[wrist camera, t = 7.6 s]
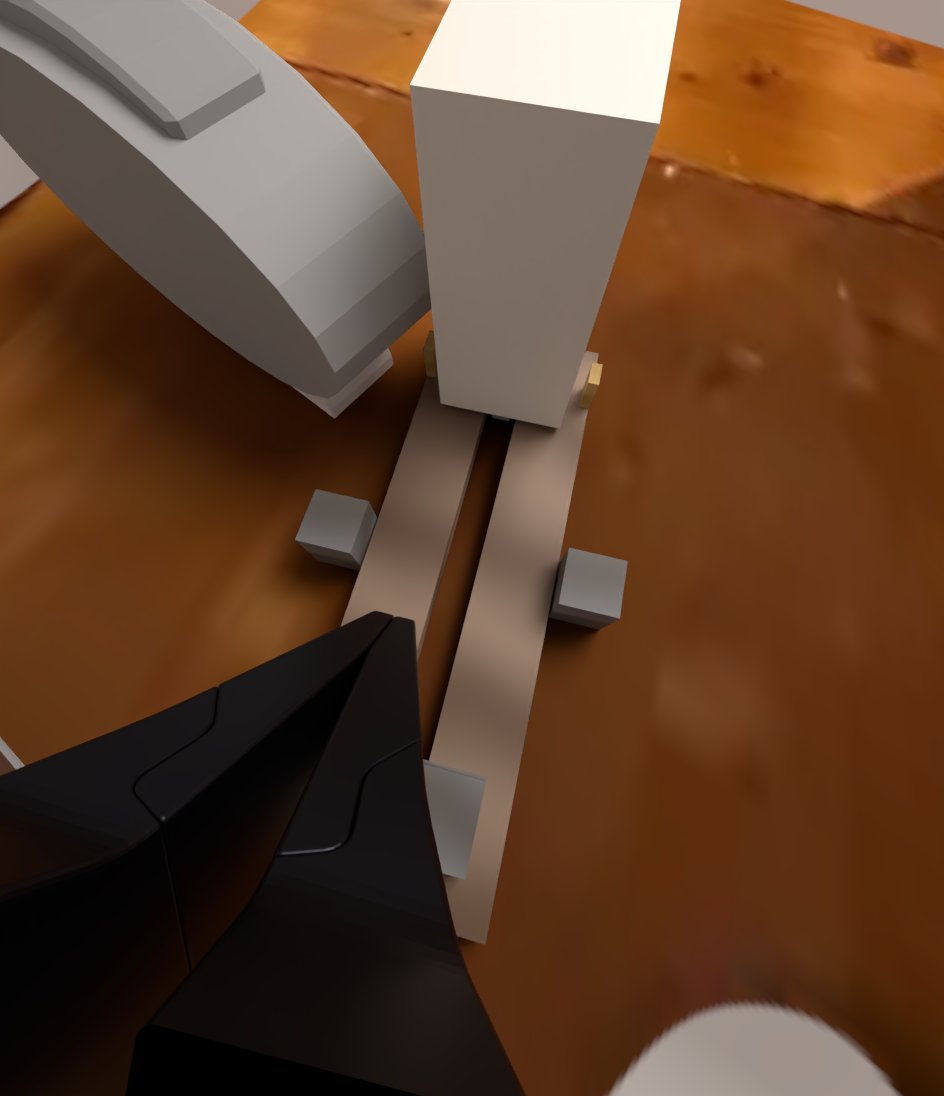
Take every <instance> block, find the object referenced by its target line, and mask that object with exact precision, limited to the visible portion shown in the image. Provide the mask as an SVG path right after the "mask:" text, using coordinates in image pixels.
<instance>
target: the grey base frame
mask: <svg viewBox="0 0 944 1096" xmlns="http://www.w3.org/2000/svg"><path fill="white" fill-rule="evenodd" d="M423 352H424V360H425V368H426V375H427V378H426V381H425V384H424V387H423V390H422V393H421V396H420V399H419V402H418V404H417V407H416V410H415V413H414V416H413V419H412V422H411V425H410V428H409V430H408V433H407V436H406V439H405V442H404V445H403V448H402V451H401V454H400V456H399V459H398V462H397V465H396V468H395V471H394V474H393V477H392V479H391V482H390V485H389V488H388V491H387V494H386V497H385V500H384V503H383V505H382V508H381V511H380V514H379V517H378V518H377V516H376V514H375V512H374V510H373V508H372V506H371V504H370V502H369V501H365V500H361V499H357V498H352V497H348V496H344V495H339V494H335V493H331V492H326V491H322V490H318V489H315V492H314V494H313V497H312V499H311V501H310V504H309V506H308V509H307V511H306V514H305V516H304V519H303V521H302V524H301V526H300V528H299V531H298V533H297V536H296V538H295V541H296V542H298V543H299V544H300V545H301V546H302V547H303V548H304V549H305V550H306V551H307V552H308V553H309V554H310V555H311V556H313V557H314V558H315V559H316V560H317V561H320V562H324V563H328V564H333V565H337V566H341V567H345V568H349V569H353V570H357V571H360V572H359V575H358V578H357V581H356V583H355V586H354V589H353V592H352V595H351V598H350V601H349V604H348V607H347V609H346V612H345V615H344V618H343V621H342V624H341V626H343V625H345V624H347V623H349V622H351V621H353V620H355V619H358V618H360V617H362V616H364V615H366V614H368V613H370V612H372V611H380V612H384V613H388V614H391V615H393V616H394V617H396V616H399V617H403V618H407V619H411V620H414V621H415V628H416V645H417V663H418V660H419V656H420V653H421V649H422V645H423V642H424V638H425V635H426V631H427V628H428V624H429V621H430V617H431V613H432V610H433V606H434V603H435V599H436V596H437V592H438V588H439V585H440V581H441V578H442V574H443V571H444V567H445V564H446V560H447V556H448V553H449V549H450V546H451V542H452V539H453V535H454V531H455V528H456V524H457V521H458V517H459V514H460V510H461V507H462V503H463V499H464V496H465V492H466V489H467V485H468V482H469V478H470V474H471V471H472V467H473V464H474V460H475V457H476V453H477V450H478V446H479V442H480V439H481V435H482V432H483V428H484V425H485V421H486V417H487V414H488V413H483V412H478V411H474V410H469V409H464V408H459V407H455V406H450V405H445V404H441V401H440V391H439V381H438V370H437V360H436V350H435V339H434V331H431V330H430V331H429V334H428V337H427V340H426V342H425V345H424V348H423ZM597 359H598V353H593V352H588V351H585V353H584V356H583V359H582V362H581V365H580V368H579V371H578V374H577V377H576V380H575V383H574V386H573V389H572V392H571V396H570V399H569V402H568V405H567V408H566V411H565V414H564V417H563V420H562V423H561V426H560V429H559V428H554V427H549V426H545V425H540V424H535V423H530V422H526V421H521V420H516V421H515V424H514V428H513V432H512V436H511V440H510V444H509V448H508V452H507V456H506V460H505V464H504V468H503V472H502V476H501V480H500V483H499V487H498V491H497V495H496V499H495V503H494V507H493V511H492V515H491V519H490V523H489V527H488V531H487V535H486V539H485V542H484V546H483V550H482V554H481V558H480V562H479V566H478V570H477V574H476V578H475V582H474V586H473V590H472V594H471V598H470V601H469V605H468V609H467V613H466V617H465V621H464V625H463V629H462V633H461V637H460V641H459V645H458V649H457V653H456V657H455V660H454V664H453V668H452V672H451V676H450V680H449V684H448V688H447V692H446V696H445V700H444V704H443V708H442V712H441V716H440V719H439V723H438V727H437V731H436V735H435V739H434V743H433V747H432V751H431V755H430V759H429V761H428V760H424V759H423V764H424V774H425V784H426V793H427V798H428V804H429V810H430V816H431V822H432V827H433V831H434V836H435V841H436V845H437V850H438V854H439V859H440V864H441V868H442V873H443V878H444V882H445V887H446V892H447V896H448V901H449V906H450V910H451V914H452V919H453V923H454V927H455V931H456V934H457V936H458V937H462V938H465V939H468V940H471V941H475V942H478V943H481V944H485V943H486V938H487V933H488V928H489V923H490V917H491V912H492V907H493V902H494V897H495V891H496V886H497V881H498V876H499V870H500V865H501V860H502V855H503V850H504V844H505V839H506V834H507V829H508V824H509V818H510V813H511V808H512V803H513V797H514V792H515V787H516V782H517V777H518V771H519V766H520V761H521V756H522V751H523V745H524V740H525V735H526V730H527V724H528V719H529V714H530V709H531V704H532V698H533V693H534V688H535V683H536V677H537V672H538V667H539V662H540V657H541V651H542V646H543V641H544V636H545V631H546V625H547V620H548V617H549V618H553V619H557V620H562V621H566V622H570V623H574V624H578V625H582V626H586V627H590V628H594V629H598V630H600V629H602V628H604V627H605V626H607V625H609V624H611V623H612V622H614V621H616V620H618V619H620V612H621V605H622V597H623V590H624V583H625V576H626V568H627V561H624V560H620V559H616V558H611V557H607V556H603V555H598V554H594V553H590V552H585V551H581V550H577V549H572V548H569V549H568V550H567V552H566V553H565V555H564V556H563V558H562V560H561V561H560V563H559V558H560V552H561V547H562V542H563V537H564V531H565V526H566V521H567V516H568V511H569V505H570V500H571V495H572V490H573V485H574V479H575V474H576V469H577V464H578V458H579V453H580V448H581V443H582V438H583V432H584V427H585V422H586V417H587V412H588V409H589V408H590V405H591V403H592V400H593V398H594V395H595V393H596V391H597V388H598V386H599V381H600V376H601V370H602V364H597ZM558 563H559V564H558Z"/></svg>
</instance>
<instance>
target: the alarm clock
mask: <svg viewBox="0 0 944 1096" xmlns="http://www.w3.org/2000/svg"><path fill="white" fill-rule="evenodd" d="M0 134H1V136H2V137H3V138H4V139H5V140H6V141H7V142H8V144H9V145H10V146H11V147H12V148H13V149H14V150H15V152H16V153H17V154H18V155H19V156H20V157H21V158H22V160H23V161H24V162H25V163H26V164H27V165H28V166H29V167H30V168H31V169H32V170H33V171H34V173H35V174H36V175H37V176H38V177H39V178H40V179H41V180H42V181H43V182H44V183H45V184H46V185H47V186H48V187H49V188H50V189H51V190H52V191H53V193H54V194H55V195H56V196H57V197H58V198H59V199H60V200H61V201H62V202H63V203H64V204H65V205H66V206H67V207H68V208H69V209H70V210H71V211H72V212H73V213H74V214H75V215H76V216H77V217H78V218H79V219H81V220H82V221H83V222H84V223H85V224H86V225H87V226H88V227H89V228H90V229H91V230H92V231H93V232H94V233H95V234H96V235H97V236H98V237H99V238H100V239H101V240H102V241H103V242H104V243H105V244H107V245H108V246H109V247H110V248H111V249H112V250H113V251H114V252H115V253H116V254H118V255H119V256H120V257H121V258H122V259H123V260H124V261H125V262H126V263H127V264H128V265H130V266H131V267H132V268H133V269H134V270H135V271H136V272H137V273H138V274H140V275H141V276H142V277H143V278H144V279H145V280H147V281H148V282H149V283H150V284H151V285H152V286H154V287H155V288H156V289H157V290H158V291H159V292H161V293H162V294H163V295H164V296H165V297H166V298H168V299H169V300H170V301H171V302H172V303H173V304H175V305H176V306H177V307H178V308H180V309H181V310H182V311H183V312H185V313H186V314H187V315H188V316H190V317H191V318H192V319H194V320H195V321H196V322H197V323H199V324H200V325H201V326H202V327H204V328H205V329H206V330H207V331H209V332H210V333H211V334H212V335H214V336H215V337H217V338H218V339H219V340H221V341H222V342H224V343H225V344H226V345H228V346H229V347H230V348H232V349H233V350H235V351H236V352H237V353H239V354H240V355H242V356H243V357H244V358H246V359H247V360H249V361H250V362H252V363H253V364H255V365H257V366H258V367H260V368H261V369H263V370H264V371H266V372H268V373H269V374H271V375H272V376H274V377H276V378H277V379H279V380H280V381H282V382H284V383H286V384H288V385H290V386H292V387H293V388H295V389H296V390H297V391H299V392H300V393H301V394H303V395H304V396H305V397H307V398H308V399H309V400H311V401H312V402H313V403H315V404H316V405H317V406H319V407H320V408H321V409H322V410H324V411H325V412H326V413H328V414H329V415H330V416H332V417H333V418H334V419H335V418H336V417H337V416H338V415H339V414H340V413H341V412H342V411H344V410H345V409H346V408H347V407H348V406H349V405H350V404H351V403H352V402H353V401H354V400H355V399H357V398H358V397H359V396H360V395H361V394H362V393H363V392H364V391H365V390H366V389H367V388H369V387H370V386H371V385H372V384H373V383H374V382H375V381H376V380H377V379H378V378H379V377H380V376H382V375H383V374H384V373H385V372H386V371H387V370H388V369H389V368H390V367H391V366H392V365H394V364H393V360H392V356H391V353H390V351H389V348H388V347H389V346H390V345H392V344H393V343H394V342H395V341H396V340H397V339H398V338H399V337H400V336H402V335H403V334H404V333H405V332H406V331H407V330H408V329H409V328H410V327H412V326H413V325H414V324H415V323H416V322H417V321H418V320H419V319H420V318H422V317H423V316H424V315H425V314H426V313H427V312H428V311H429V310H430V309H432V308H431V298H430V288H429V277H428V267H427V257H426V246H425V236H424V233H423V231H422V229H421V227H420V225H419V224H418V222H417V220H416V218H415V216H414V214H413V213H412V211H411V209H410V207H409V205H408V203H407V201H406V200H405V198H404V196H403V194H402V192H401V191H400V190H399V188H398V187H397V186H396V184H395V183H394V182H393V180H392V179H391V178H390V176H389V175H388V174H387V172H386V171H385V170H384V168H383V167H382V166H381V164H380V163H379V162H378V160H377V159H376V158H375V156H374V155H373V154H372V152H371V151H370V150H369V148H368V147H367V146H366V144H365V143H364V142H363V140H362V139H361V138H360V136H359V135H358V134H357V133H356V132H355V131H354V130H353V129H352V128H351V127H350V126H349V124H348V123H347V122H346V121H345V120H344V119H343V118H342V117H341V116H340V115H339V114H338V113H337V112H336V111H335V110H334V109H333V108H332V107H331V106H330V105H329V104H328V103H327V102H326V100H325V99H324V98H323V97H322V96H321V95H320V94H319V93H318V92H317V91H316V90H315V89H314V88H313V87H312V86H311V85H310V84H309V83H308V82H307V81H306V80H305V79H304V77H303V76H302V75H301V74H299V73H298V72H297V71H296V70H295V69H293V68H292V67H291V66H290V65H289V64H287V63H286V62H285V61H284V60H283V59H281V58H280V57H279V56H278V55H277V54H275V53H274V52H273V51H272V50H271V49H269V48H268V47H267V46H266V45H265V44H263V43H262V42H261V41H260V40H259V39H257V38H256V37H255V36H254V35H253V34H251V33H250V32H249V31H248V30H247V29H245V28H244V27H243V26H242V25H241V24H240V23H238V22H237V21H235V20H234V19H232V18H231V17H229V16H227V15H225V14H224V13H223V12H221V11H220V10H218V9H216V8H215V7H213V6H212V5H210V4H208V3H207V2H205V1H204V0H0Z"/></svg>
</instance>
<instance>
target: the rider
mask: <svg viewBox="0 0 944 1096" xmlns="http://www.w3.org/2000/svg"><path fill="white" fill-rule="evenodd" d="M680 1H681V0H452V1H451V3H450V5H449V7H448V9H447V11H446V13H445V15H444V17H443V19H442V21H441V23H440V25H439V27H438V29H437V31H436V33H435V35H434V37H433V39H432V41H431V43H430V45H429V47H428V49H427V51H426V53H425V55H424V57H423V59H422V61H421V63H420V65H419V68H418V70H417V72H416V74H415V76H414V78H413V80H412V82H411V84H410V91H411V101H412V112H413V122H414V132H415V143H416V153H417V163H418V174H419V184H420V194H421V205H422V215H423V226H424V236H425V246H426V257H427V267H428V277H429V288H430V298H431V308H432V319H433V329H434V339H435V350H436V360H437V370H438V381H439V391H440V401H441V404H445V405H450V406H455V407H459V408H464V409H469V410H474V411H478V412H483V413H488V414H492V418H497V419H501V420H506V421H509V419H510V418H511V419H516V420H521V421H526V422H530V423H535V424H540V425H545V426H549V427H554V428H559V429H560V426H561V423H562V420H563V417H564V414H565V411H566V408H567V405H568V402H569V399H570V396H571V392H572V389H573V386H574V383H575V380H576V377H577V374H578V371H579V368H580V365H581V362H582V359H583V356H584V353H585V350H586V347H587V344H588V341H589V338H590V334H591V331H592V328H593V325H594V322H595V319H596V316H597V313H598V310H599V307H600V304H601V301H602V298H603V295H604V292H605V289H606V286H607V283H608V280H609V276H610V273H611V270H612V267H613V264H614V261H615V258H616V255H617V252H618V249H619V246H620V243H621V240H622V237H623V234H624V231H625V228H626V225H627V221H628V218H629V215H630V212H631V209H632V206H633V203H634V200H635V197H636V194H637V191H638V188H639V185H640V182H641V179H642V176H643V173H644V170H645V167H646V163H647V160H648V157H649V154H650V151H651V148H652V145H653V142H654V139H655V136H656V133H657V130H658V127H659V124H660V118H661V112H662V106H663V100H664V95H665V89H666V83H667V77H668V71H669V65H670V60H671V54H672V48H673V42H674V36H675V30H676V25H677V19H678V13H679V7H680Z"/></svg>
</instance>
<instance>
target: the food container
mask: <svg viewBox="0 0 944 1096" xmlns="http://www.w3.org/2000/svg"><path fill="white" fill-rule="evenodd" d="M21 767H24V764H23V763H22V762H21V761H20V760H19V759H18V757H17V756H16V755H15V754H14V753H13V752H12V750H11V749H10V748H9V747H8V746H7V744H6V743H5V742H4V741H3V740H2V739H1V737H0V775H3V774H6V773H8V772H11V771H13V770H16V769H18V768H21Z"/></svg>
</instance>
